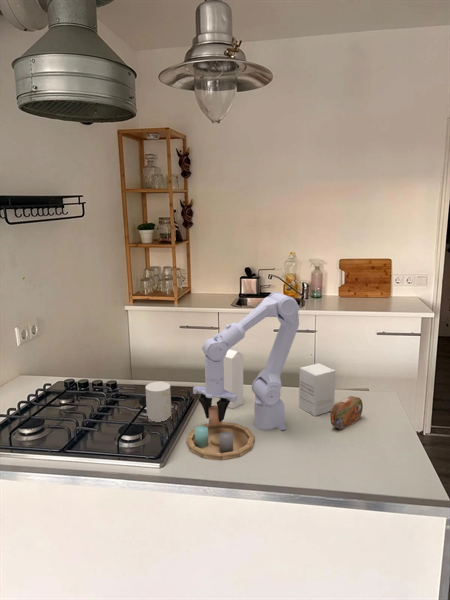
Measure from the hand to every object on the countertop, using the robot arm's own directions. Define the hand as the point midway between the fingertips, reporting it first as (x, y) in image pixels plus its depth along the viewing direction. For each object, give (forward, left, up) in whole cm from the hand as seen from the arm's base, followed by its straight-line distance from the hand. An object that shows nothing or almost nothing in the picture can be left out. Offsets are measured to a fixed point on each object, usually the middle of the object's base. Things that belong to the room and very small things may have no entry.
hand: (215, 418), depth 145 cm
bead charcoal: (0, +11, -5) cm, 12 cm away
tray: (0, +6, -6) cm, 8 cm away
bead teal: (+6, +6, -5) cm, 9 cm away
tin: (-43, +6, -6) cm, 44 cm away
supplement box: (-39, -7, -6) cm, 40 cm away
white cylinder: (+15, -16, -6) cm, 23 cm away
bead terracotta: (0, 0, -2) cm, 2 cm away
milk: (-12, -20, -6) cm, 24 cm away
